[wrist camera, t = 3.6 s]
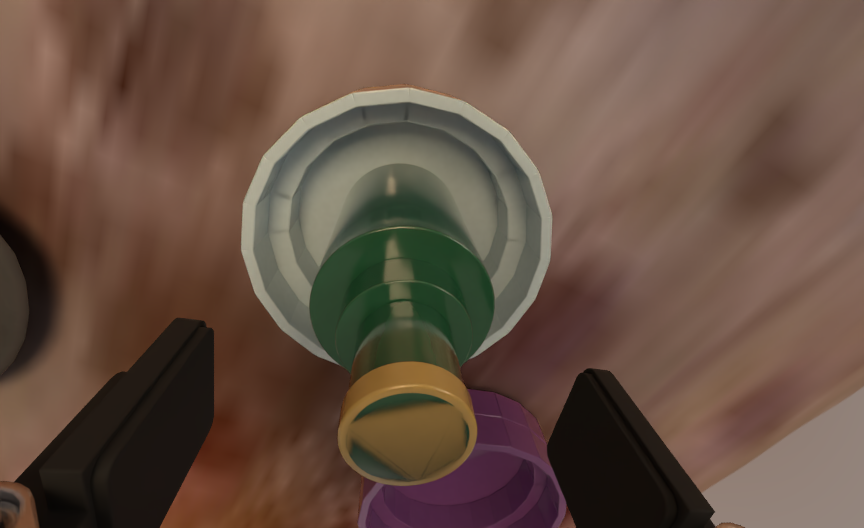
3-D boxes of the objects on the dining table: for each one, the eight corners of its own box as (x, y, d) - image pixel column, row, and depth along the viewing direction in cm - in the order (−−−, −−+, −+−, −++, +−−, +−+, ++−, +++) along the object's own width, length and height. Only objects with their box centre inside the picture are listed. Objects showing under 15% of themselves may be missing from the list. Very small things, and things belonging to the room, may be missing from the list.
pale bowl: (470, 36, 18) (495, 24, 14) (547, 269, 24) (582, 315, 19) (221, 153, 20) (170, 178, 15) (348, 349, 25) (338, 410, 21)
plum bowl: (509, 355, 26) (533, 414, 22) (560, 475, 32) (587, 541, 27) (331, 424, 28) (318, 493, 23) (409, 527, 33) (411, 599, 29)
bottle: (430, 143, 20) (494, 272, 7) (473, 246, 22) (576, 477, 10) (320, 192, 20) (197, 393, 8) (374, 288, 23) (348, 556, 10)
